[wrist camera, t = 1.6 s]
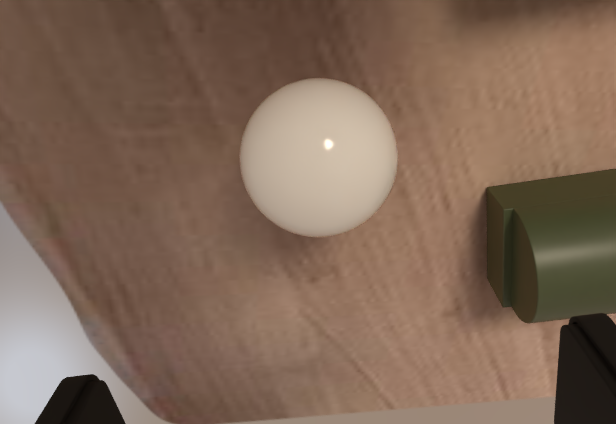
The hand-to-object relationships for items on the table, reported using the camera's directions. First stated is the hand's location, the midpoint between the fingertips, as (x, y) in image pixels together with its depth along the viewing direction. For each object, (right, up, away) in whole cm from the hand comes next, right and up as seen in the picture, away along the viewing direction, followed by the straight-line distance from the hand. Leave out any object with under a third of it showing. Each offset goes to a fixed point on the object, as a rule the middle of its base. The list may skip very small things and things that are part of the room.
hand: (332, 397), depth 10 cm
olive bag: (+17, +3, +20) cm, 26 cm away
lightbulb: (0, +10, +17) cm, 20 cm away
